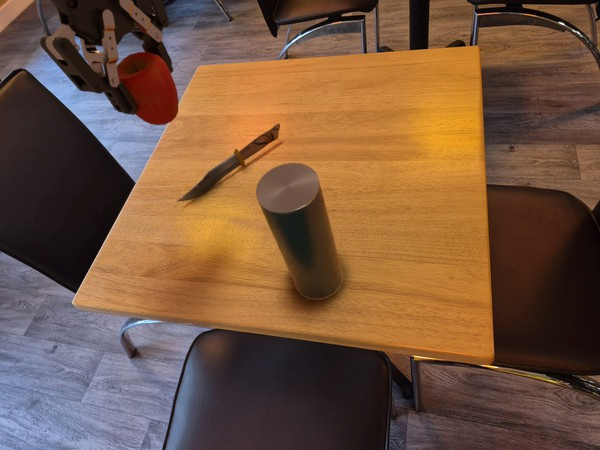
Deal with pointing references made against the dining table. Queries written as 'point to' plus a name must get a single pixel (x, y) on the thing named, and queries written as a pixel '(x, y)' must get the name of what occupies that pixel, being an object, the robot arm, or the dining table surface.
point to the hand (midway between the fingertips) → (148, 91)
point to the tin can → (301, 228)
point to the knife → (231, 164)
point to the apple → (150, 87)
